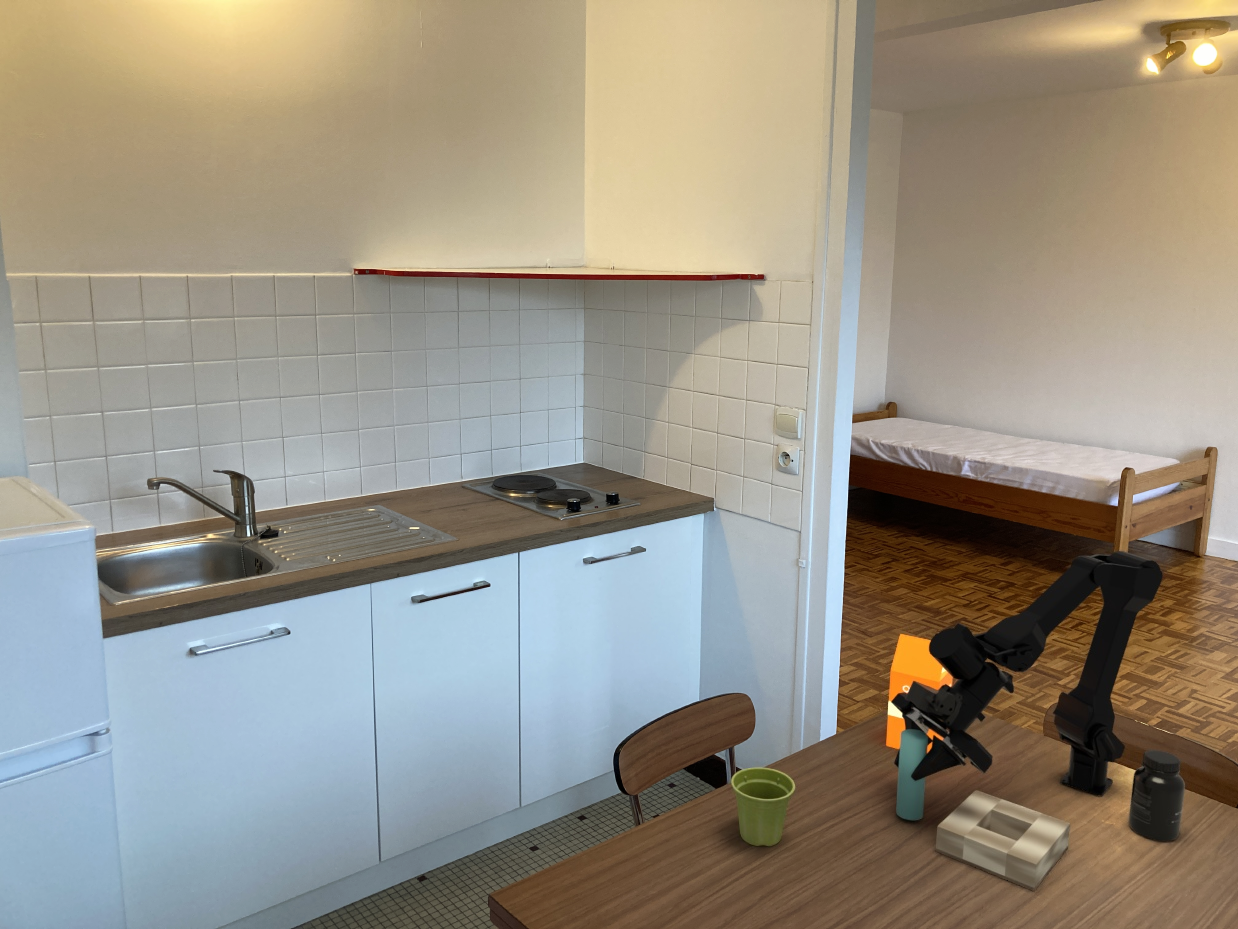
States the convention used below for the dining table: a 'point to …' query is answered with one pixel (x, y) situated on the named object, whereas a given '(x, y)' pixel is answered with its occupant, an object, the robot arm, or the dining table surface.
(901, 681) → the orange juice
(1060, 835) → the cream square wooden frame
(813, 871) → the dining table surface
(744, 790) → the plant pot
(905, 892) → the dining table surface
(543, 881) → the dining table surface
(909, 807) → the teal cylinder
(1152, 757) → the supplement bottle
